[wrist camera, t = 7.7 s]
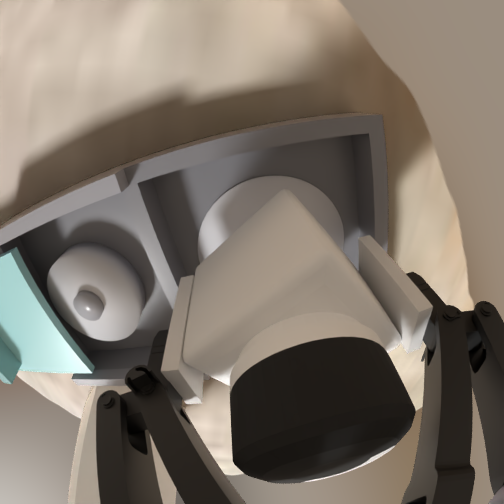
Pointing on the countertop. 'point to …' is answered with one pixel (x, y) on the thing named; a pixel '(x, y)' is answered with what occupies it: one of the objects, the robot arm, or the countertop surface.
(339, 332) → the medicine bottle
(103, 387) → the milk
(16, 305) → the lid
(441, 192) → the countertop surface
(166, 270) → the housing
